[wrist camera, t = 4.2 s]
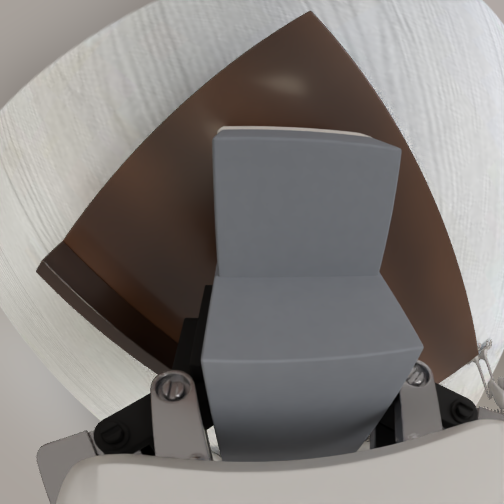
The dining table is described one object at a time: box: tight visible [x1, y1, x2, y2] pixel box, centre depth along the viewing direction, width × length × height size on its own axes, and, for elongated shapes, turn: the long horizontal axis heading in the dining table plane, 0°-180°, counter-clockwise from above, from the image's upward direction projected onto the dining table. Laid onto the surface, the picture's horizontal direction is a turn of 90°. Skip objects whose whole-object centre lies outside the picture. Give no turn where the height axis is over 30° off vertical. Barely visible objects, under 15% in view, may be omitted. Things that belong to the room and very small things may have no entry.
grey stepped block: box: [201, 126, 424, 462], centre depth 9 cm, size 12×5×6 cm, turn 0°
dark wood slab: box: [36, 11, 479, 384], centre depth 17 cm, size 16×26×8 cm, turn 40°
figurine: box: [467, 340, 504, 414], centre depth 20 cm, size 11×4×15 cm, turn 87°
